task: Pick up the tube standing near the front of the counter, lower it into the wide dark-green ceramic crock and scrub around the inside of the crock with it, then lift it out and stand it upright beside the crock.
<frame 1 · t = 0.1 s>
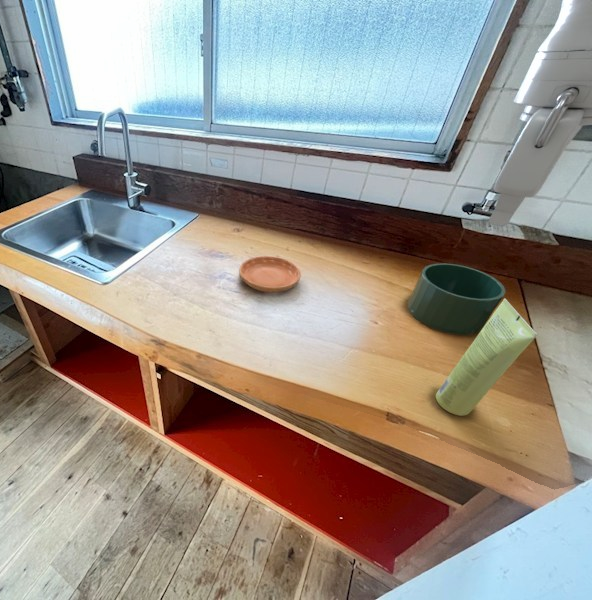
hand: (505, 212, 42), 31 cm above the worktop, tool pointing down, fingers open, 8 cm apart
tube: (451, 405, 54), on the worktop
saucer: (268, 280, 87), on the worktop
vessel: (443, 313, 73), on the worktop
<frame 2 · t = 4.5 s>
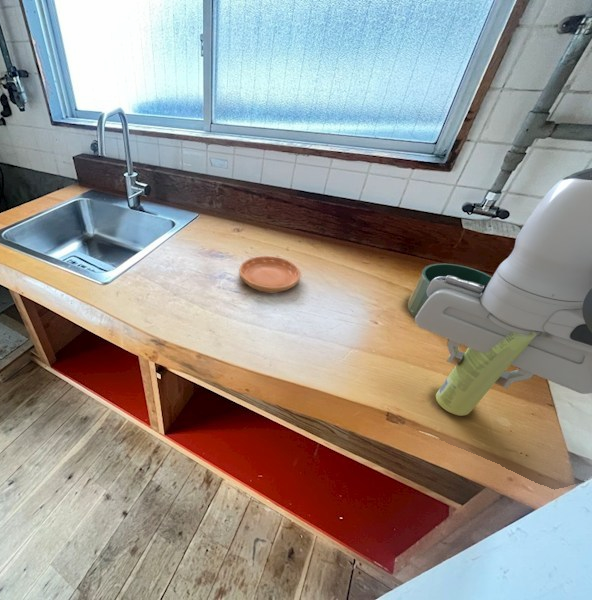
hand: (476, 372, 49), 8 cm above the worktop, tool pointing down, fingers closed on tube, 5 cm apart
tube: (451, 405, 54), on the worktop, touching gripper
everything else where it was.
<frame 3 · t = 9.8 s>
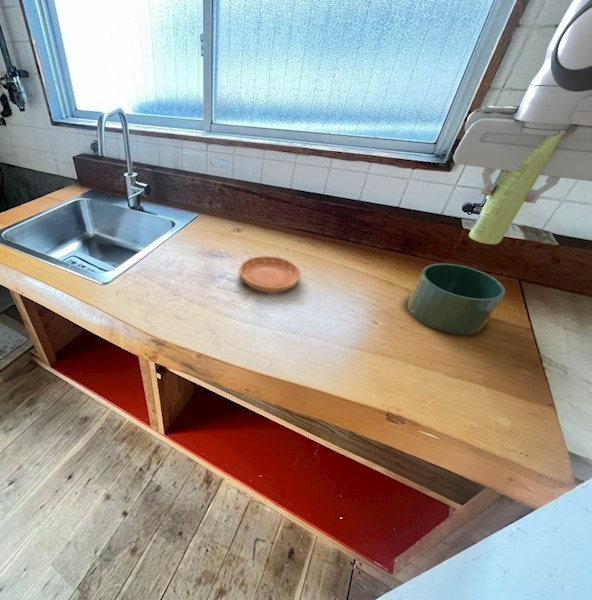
hand: (507, 197, 57), 26 cm above the worktop, tool pointing down, fingers closed on tube, 5 cm apart
tube: (483, 240, 62), point 18 cm above the worktop, touching gripper
everything else where it was.
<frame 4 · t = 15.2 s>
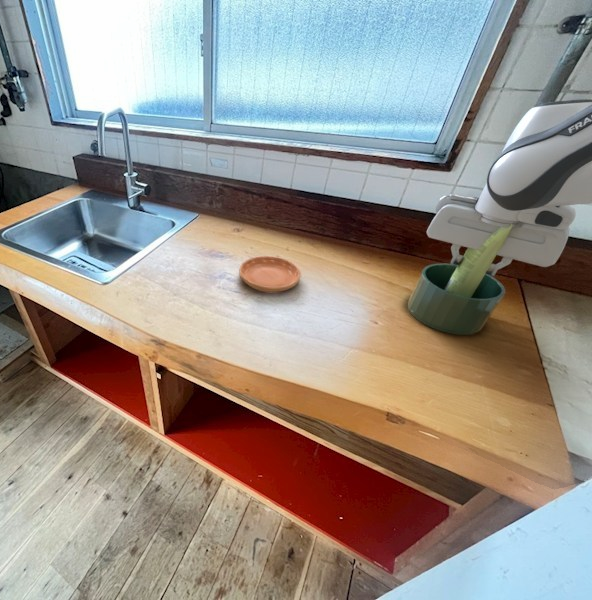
hand: (472, 268, 67), 11 cm above the worktop, tool pointing down, fingers closed on tube, 5 cm apart
tube: (453, 300, 72), point 3 cm above the worktop, touching gripper
everything else where it was.
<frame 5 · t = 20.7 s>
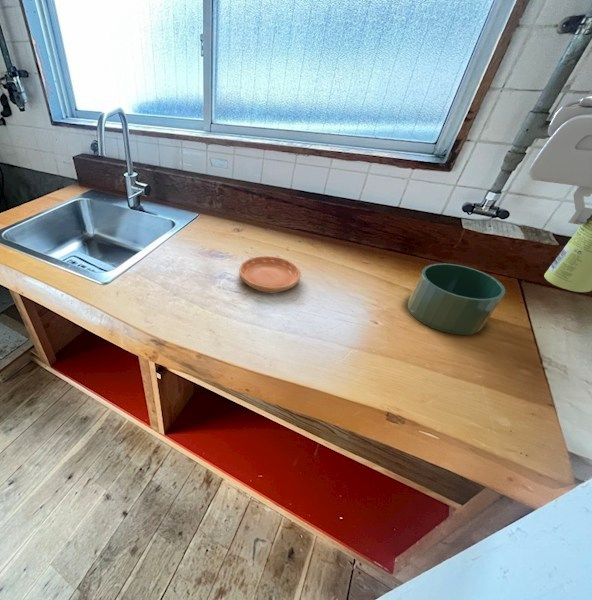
tube: (566, 285, 44), point 21 cm above the worktop, touching gripper
everything else where it was.
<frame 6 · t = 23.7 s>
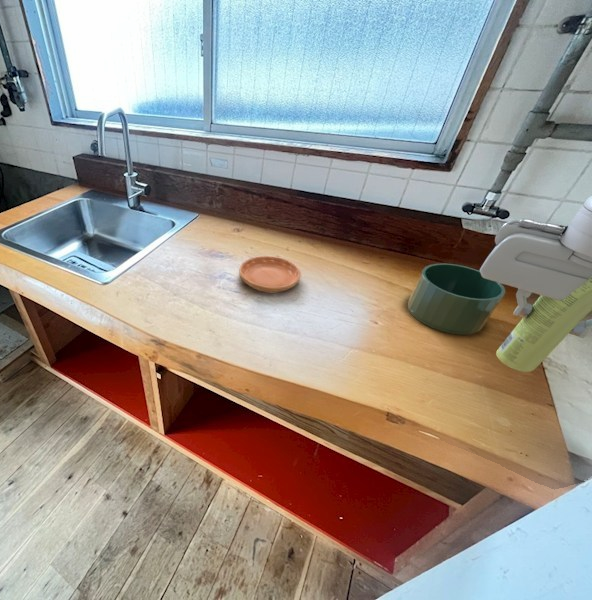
hand: (546, 324, 47), 15 cm above the worktop, tool pointing down, fingers closed on tube, 5 cm apart
tube: (514, 362, 52), point 7 cm above the worktop, touching gripper
everything else where it was.
when the fingers open (8 cm above the worktop, at t = 25.8 s): tube stays where it is, on the worktop.
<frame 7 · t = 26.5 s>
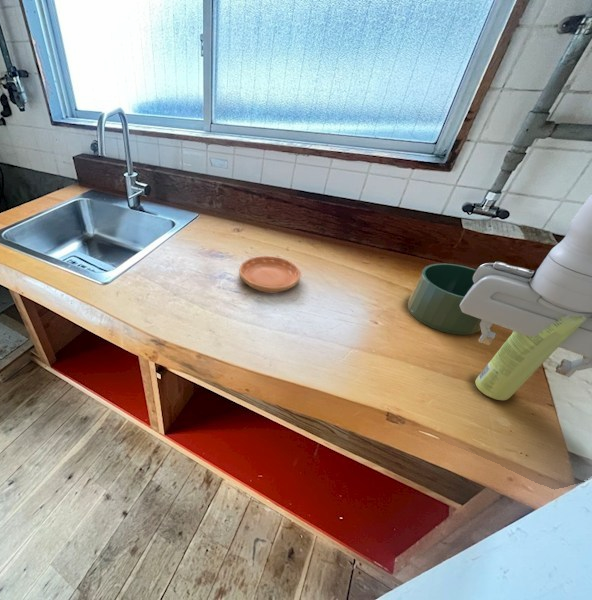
hand: (520, 356, 51), 9 cm above the worktop, tool pointing down, fingers open, 8 cm apart
tube: (491, 391, 56), on the worktop
everything else where it was.
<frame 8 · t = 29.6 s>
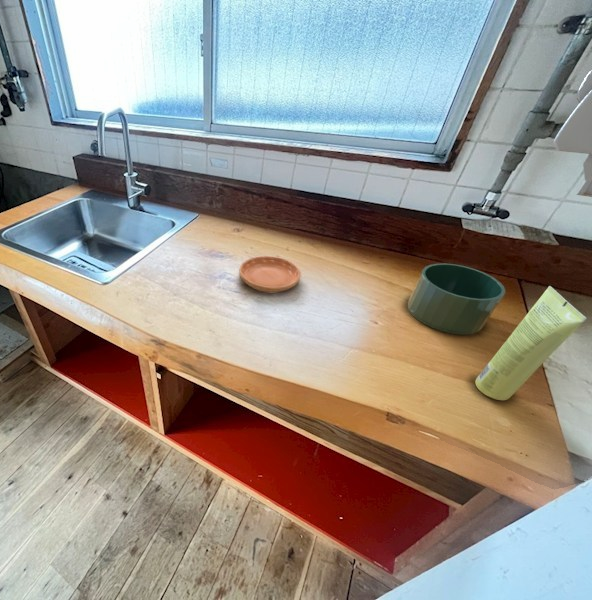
nothing on the worktop moved.
at the end: tube inside the target area on the worktop beside the vessel (0.1 cm from its centre), on the worktop; tube tilted 0°; the gripper is holding nothing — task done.
